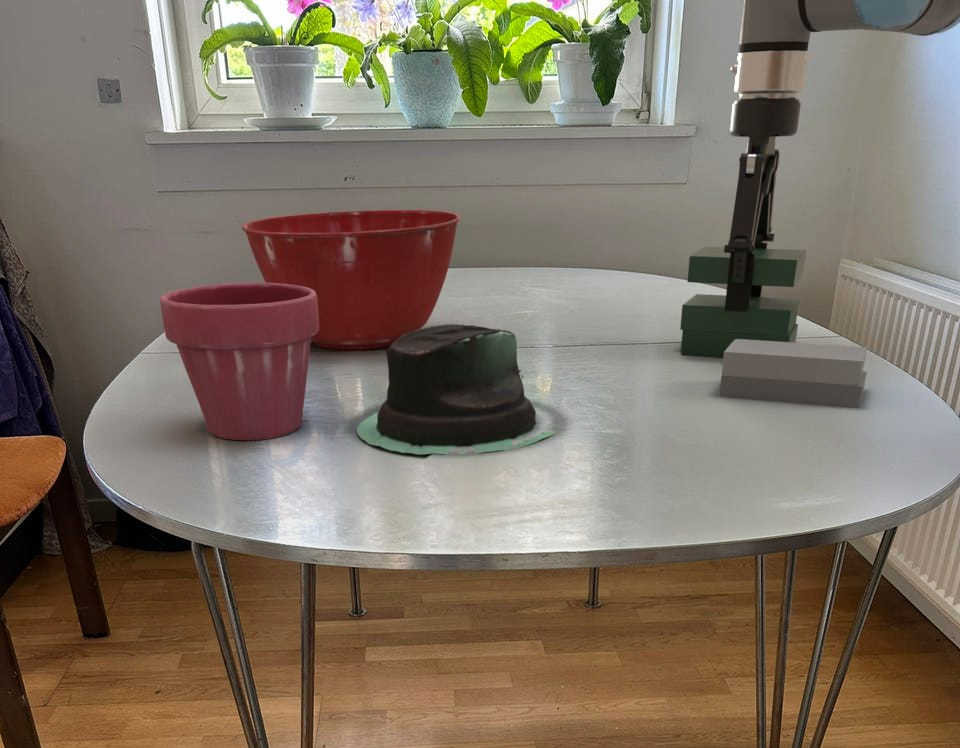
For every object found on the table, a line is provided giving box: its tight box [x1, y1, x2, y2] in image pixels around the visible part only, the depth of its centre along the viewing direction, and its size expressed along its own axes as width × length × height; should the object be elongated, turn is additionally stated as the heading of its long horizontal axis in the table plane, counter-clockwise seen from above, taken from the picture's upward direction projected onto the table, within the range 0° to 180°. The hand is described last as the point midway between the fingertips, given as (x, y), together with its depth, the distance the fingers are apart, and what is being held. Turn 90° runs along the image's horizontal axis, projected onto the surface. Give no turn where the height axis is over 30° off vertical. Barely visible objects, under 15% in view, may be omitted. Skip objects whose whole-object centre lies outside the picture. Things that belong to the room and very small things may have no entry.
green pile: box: [679, 293, 800, 358], centre depth 119 cm, size 13×8×6 cm, turn 67°
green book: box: [687, 246, 807, 288], centre depth 116 cm, size 12×10×3 cm
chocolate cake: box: [356, 322, 555, 456], centre depth 91 cm, size 15×19×20 cm
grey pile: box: [718, 339, 868, 409], centre depth 100 cm, size 14×7×5 cm, turn 67°
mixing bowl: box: [241, 209, 461, 350], centre depth 127 cm, size 28×28×15 cm
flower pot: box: [159, 282, 319, 441], centre depth 91 cm, size 14×14×13 cm
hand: (743, 303), depth 118 cm, fingers closed on green book, 9 cm apart
